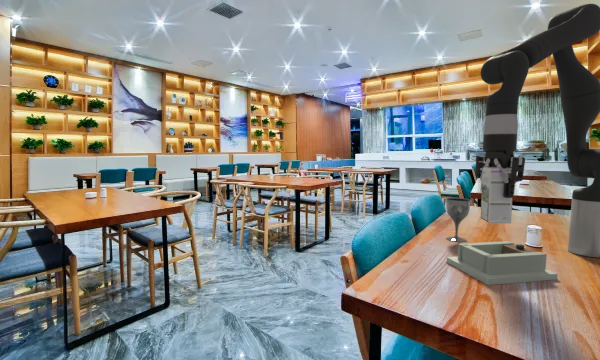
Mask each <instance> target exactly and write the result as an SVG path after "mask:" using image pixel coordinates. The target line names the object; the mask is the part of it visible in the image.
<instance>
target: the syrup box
mask: <svg viewBox="0 0 600 360" xmlns="http://www.w3.org/2000/svg"><path fill="white" fill-rule="evenodd" d="M504 170H505V171H511V168H505V169H504ZM481 173H482V180H481V184H482V191H481V198H480V199H481V201H480V219H482V220H483V221H485V222H487V223H491V224H512V213H513V197H512V198H504V197H503V192H504V183H505V182H504V179H503V177H502V176H501V175H500V173H499V168H497V167H488V168H484V167H483V170H482V169H481ZM508 177H509V178H510V175H508Z"/></svg>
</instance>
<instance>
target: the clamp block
mask: <svg viewBox="0 0 600 360" xmlns="http://www.w3.org/2000/svg"><path fill="white" fill-rule="evenodd" d="M528 252H536V251H535V250H532V249H529V248H527V247H525V245H524V244H521V243H514V244H513V245H503V250H502V254H512V253H528Z"/></svg>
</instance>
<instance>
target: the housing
mask: <svg viewBox="0 0 600 360" xmlns="http://www.w3.org/2000/svg"><path fill="white" fill-rule="evenodd" d="M513 244H515V242H512V241H508V240H505V241H504V240H503V241H488V242H487V241H486V242H485V241H484V242H464V243H457V245H458V246H457V256H446V263H448V264H449V265H451V266H453V267H454V268H457V269H458V270H460V271H462V272H464V273H466V275H469V276H471V277H473V278H475V280H478V281H480V282H482V283H484V284H485V285H487V286H492V285H503V284H517V283H528V282H529V283H530V282H541V281H543V282H544V281H553V280H554V281H555V280H558V275H559V273H557V272H555V271H552V270H550V269H547V268H546V267H547V253H544V252H542V251H535V252H528V253H512V254H502V250H503V245H513Z"/></svg>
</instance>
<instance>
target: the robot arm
mask: <svg viewBox="0 0 600 360" xmlns="http://www.w3.org/2000/svg"><path fill="white" fill-rule="evenodd" d="M599 31H600V6H599V5H598V4H595V3H586V4H581V5H579V6H576V7H573V8H570V9H568V10H565V11H562V12H559V13H557V14H555V15H553V16H552V17H551V18H550V19H549V21H548V23H547V29H546V30H543V31H541V32H539V33H537V34H535V35H533V36H531V37H529V38H527V39H525V40H523V41H521V42H520V43H518V44H517V45H515V46H514V47H512V48H510V49H507V50H505V51H502V52H500V53H497V54H495V55H493V56H491V57H489V58H488V59H487V60H486V61H484V63H483V64H482V66H481V69H480V77H481V80H482V81H483V82H484V83H485V84H488V85H499V84H501V86H500V88H499V89H497V90H496V91H495V92H492V93H490V94H489V95H488V96H487V98H486V104H485V117H484V118H485V119H484V124H483V137H482V138H483V140H482V150H483V152H485V155H479V156H475V177H476V178H479V179H480V180H481V181H482V172H481V171H482V170H483V167H484V168H488V167H497V168H499V173H500V175H501V176H502V177H503V179H504V182H505V183H504V192H503V197H504V198H512V199H513V197H514V195H515V186H516V185H515V184H516V183H518V182H522V181H523V180H524V174H525V173H524V172H525V165H526V157H524V156H518V157H517V156H515V155H514V152H516V150H517V146H518V145H517V144H518V133H519V131H518V128H519V121H518V113H519V112H518V111H519V110H518V109H519V99H520V95H521V93H522V90H523V88H524V84H525V82H526V80H527V77H528V73H529V70H530V68H533V67H534V66H536V65H538V64H539V63H541V62H542V61H544V60H545V59H548V58H549V57H550V56H552V57H553V61H554V65H555V66H554V67H555V70H556V75H557V81H558V87H559V88H558V89H559V95H560V96H559V97H560V102H561V110H562V114H563V121H564V125H565V127H564V129H565V135H566V136H565V137H566V159H567V160H566V161H567V168H568V171H569V173H570V175H572V176H573V177H576V178H583V179H584V178H586V179H593V182H592V183H591V184H590V185H588V186H585V187H581V188H575V189H573V191H572V193H571V194H572V195H571V205H570V207H571V208H570V217H569V218H570V219H569V230H568V231H569V232H568V241H567V242H568V244H567V250H568V252H569V253H572V254H574V255H575V254H576V255H580V256H584V257H591V258H600V148H588V147H587V134H588V132H589V130H590V128H591V127H592V125H593V123H594V122H595V120H596V119H597V118H598V116H599V114H600V81H599V79H598V78H597V77H596V75H594V74H593V73H592V72H591V71H590V70H589V69H588V68H586V67H585V66H584V64H582V63H581V62H580V61H579V59H578V58H577V56H576V53H575V51H574V47H573V44H575V43H578V42H581V41H585V40H587V39H590V38H592V37H594V36H595V35H597V33H598V32H599ZM505 168H511V171H505V170H504V169H505ZM508 175H510V178H509V177H508ZM480 186H481V187H480V191H481V192H482V183H481V185H480Z"/></svg>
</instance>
